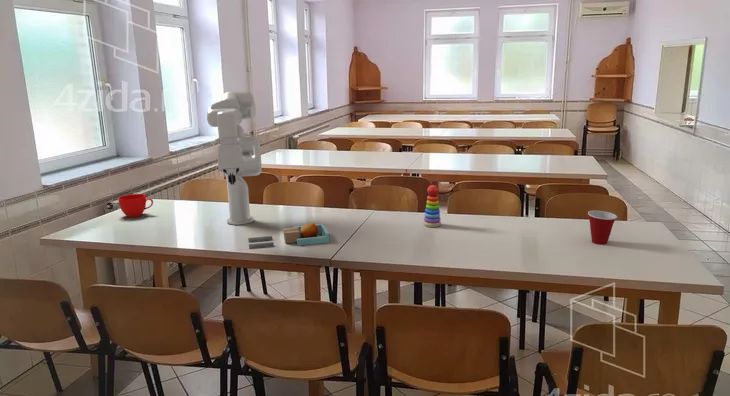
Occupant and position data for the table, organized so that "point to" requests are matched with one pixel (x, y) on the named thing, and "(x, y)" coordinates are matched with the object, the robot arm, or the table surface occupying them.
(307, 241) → the teal u-shaped frame
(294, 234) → the block
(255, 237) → the launcher track
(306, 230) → the fruit
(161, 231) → the table surface
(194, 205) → the table surface
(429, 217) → the stacking toy
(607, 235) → the plastic cup
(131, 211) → the ceramic cup
